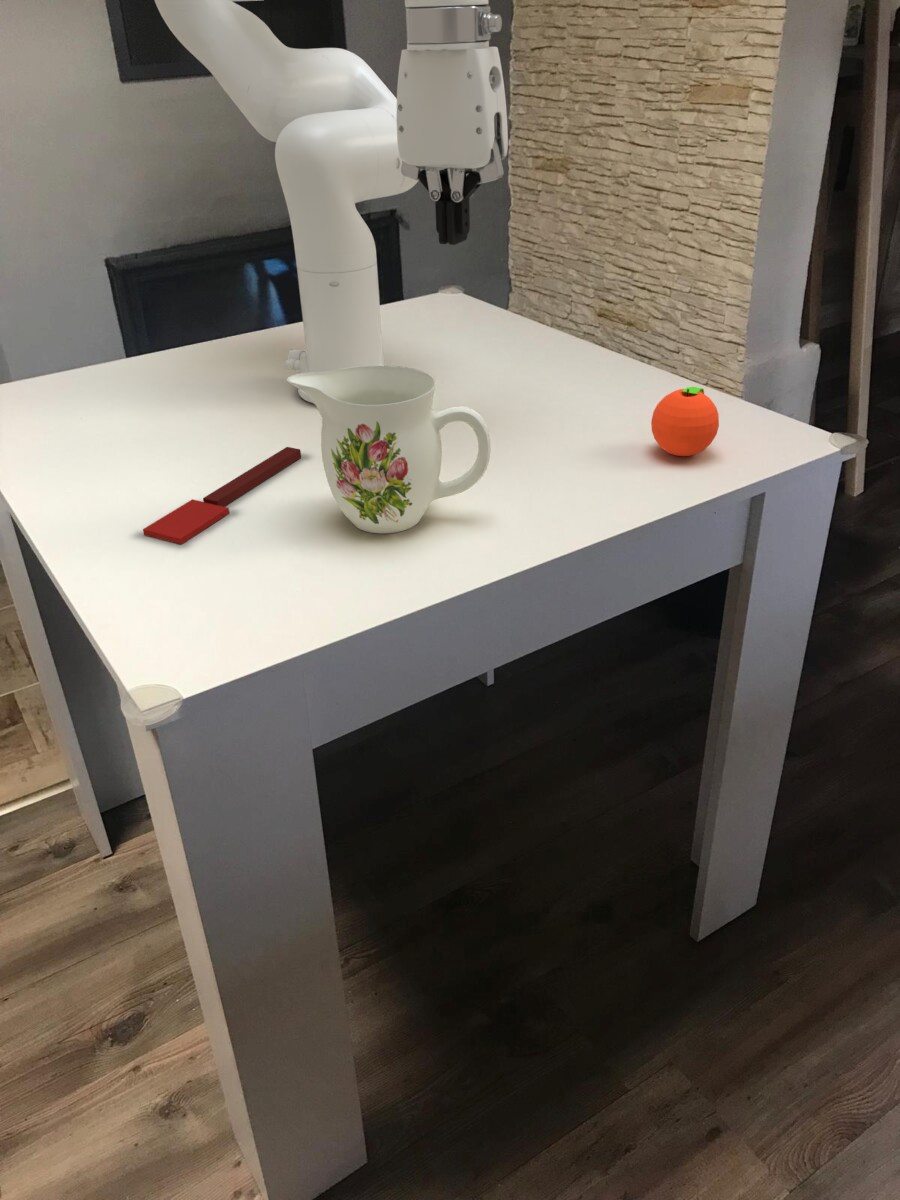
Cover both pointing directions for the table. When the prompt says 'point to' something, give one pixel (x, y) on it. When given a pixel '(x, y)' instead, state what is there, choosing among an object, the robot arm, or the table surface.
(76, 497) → the table surface
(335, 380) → the pitcher
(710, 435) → the clementine
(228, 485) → the spatula
